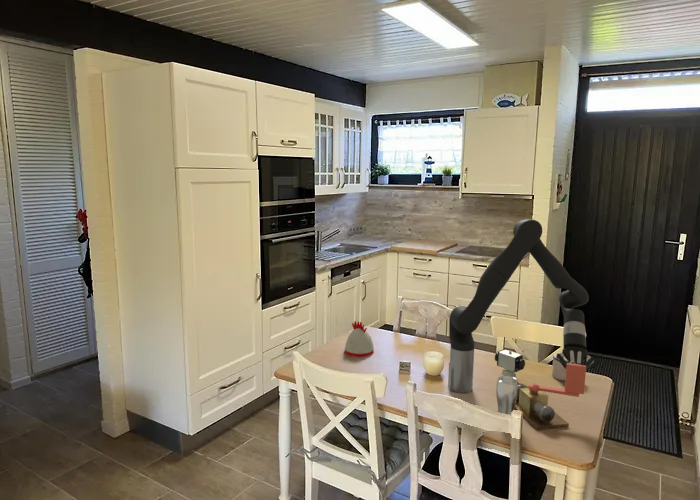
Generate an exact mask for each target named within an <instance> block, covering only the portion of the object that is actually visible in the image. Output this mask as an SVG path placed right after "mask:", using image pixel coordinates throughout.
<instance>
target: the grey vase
mask: <svg viewBox="0 0 700 500" xmlns="http://www.w3.org/2000/svg"><path fill="white" fill-rule="evenodd" d="M518 385H519V384H518V379H517V378H516V377H515V378H513V377H510V376H504V375H500V376H498V377H497V382H496V392H495V393H496V395H495V396H496V402H497V412H500V413H505V414H511V412H512V411H513V410H514V411H515V409H514V407H515V403H516V399H517V391H518Z"/></svg>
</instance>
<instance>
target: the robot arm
mask: <svg viewBox="0 0 700 500" xmlns="http://www.w3.org/2000/svg"><path fill="white" fill-rule="evenodd" d="M542 226H543V225H542V224H541V223H540V222H539V221H538V220H536V219H533V218H532V219H531V218H530V219H529V218H528V219H522V220H519V221H517V222H516V223H515V224H514V226H513V228H512V234H513V237H512V239H511V240H510V242H509V244H508V246H507V247H506V248H505V249H504V250H502V251H501V252H499V254H498V255H497V256H496V257H495V258H494V259H493V260H492V261H491V262H490V263H489V264H488V266H487V267H486V269H485V270H484V272H483V273H482V274H481V276H480V278H479V281H478V285H477V288H476V291H475V293H474V296H473V298H472V299H471V301H470V302H469V304H468V305H467V306H464V305H459V306H458V305H457V306H456V307H454V308H453V309H452V310H451V312H450V315H449V322H448V323H449V324H448V325H449V326H448V327H449V328H448V329H449V331H448V332H449V341H450V350H449V351H450V352H449V354H450V355H449V362H448V375H447V376H448V377H447V378H448V380H447V385H448V389H449V391H451V392H454V393H460V394H468V393H470V392H472V391H473V386H474V382H473V380H474V361H475V360H474V359H475V340H474V337H473V333H474V332H475V331H476V330H477V329H478V327H479V325H480V323H481V322H482V321H483V319H484V316H485V315H486V313H487V311H488V309H489V308H490V306H491V305H492V303H494V301H495V299H496V298H498V295H499V294H500V292H501V291H502V290H503V289H504V287H505V286H506V285H507V284H508V282H509V280H510V278H511V277H512V275H514V273H515V271H516V269H518V267H519V265H520V263H521V262H522V261H523V259H524V257H526V255H527V254H528V253H529V255H531V257H533V259H534V260H535V261H536V263H537V264H538V266H539V267H540V268H541V270H542V271H543V273H544V274H545V276H546V277H547V279H548V280H549V282H550V283H551V284H552V286H553V287H554V288H555V289H558V290H559V289H561V290H562V289H566V290H564V291H562V292H560V294H559V295H558V303H559V305H560V308H561V311H562V314H563V315H562V316H563V331H562V332H563V333H562V337H563V341H562V343H563V345H562V346H563V349H562V351H561V353H560V352H556V353H557V356H556V358H557V360H558V361H559V362H560V363H561V364H562V366H563V367H564V368H565V369H566V367H567V362H566V361H565V359H564V357H565V358H566V359H567V360H568V361H569V363H570V364H578V365H582V363H583V362H584V361H585V360H586V362H585V363H584V364H583V365H585V366H586V370H587V369H588V368H590V367H591V365H592V364H593V363H594V361H595V357H593V356H590V355H589V352H588V350H587V336H586V335H587V333H586V325H585V314H584V312H583V310H581V309H578V307H580V306H583V305H585V304H586V305H587V303H588V302H589V299H590V298H589V293H588V292H587V289H586V288H584V286H582V285H581V284H580V283H578V281H576V280H575V279H574V278H572V276H570V274H569V272H568V271H567V270H566V268H565V267H564V266H563V264H562V263H561V262H560V260H558V259H557V257H556V256H555V255H554V254H553V253H552V252H551V251H550V249H548V248H547V246H545V244H544V243H543V241H542V239H541V238H542V234H543V227H542ZM559 353H560V354H559ZM563 355H564V356H563Z"/></svg>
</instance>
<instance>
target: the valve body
mask: <svg viewBox="0 0 700 500" xmlns="http://www.w3.org/2000/svg"><path fill="white" fill-rule="evenodd" d="M517 385H518V391H517V399H516V403H515V407H514V411H516V410H520V411H522V412H523V417H522V418H523V419H524V420H525V421H526V422H527V423H529V425H530V426H532V427H533V428H534V429H535V430H536V431H539V430H550V429H552V430H553V429H559V428H560V429H563V428H569V426H570V423H569V422H568V421H566V420H565V419H564V418H563V417H562V416H560V415H559V413H557V412H555V410H554V408H552V406H549V405H548V403H549V395H548V394H547V393H545V391H538V392H533V391H530V390H529V387H527V386H525V385H524V384H522V383H521V384H517Z"/></svg>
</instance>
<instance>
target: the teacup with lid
mask: <svg viewBox="0 0 700 500" xmlns="http://www.w3.org/2000/svg"><path fill="white" fill-rule="evenodd" d="M561 352H562V351H561ZM561 352H556V353H554V354H553V355H552V358H553V359H552V369H551V375H552V377H553V378H554V379H556V380H559V381H563V382H565V379H566V369H565V368H564V367H563V366H562V364H561V363H560V362H559V361H558V360H557V358H556V356H557V353H559V354H560V353H561ZM563 356H564V355H563ZM564 359H565V361H566V362H567V363H569V361H568V360H567V359H566V358H565V357H564Z"/></svg>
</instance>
